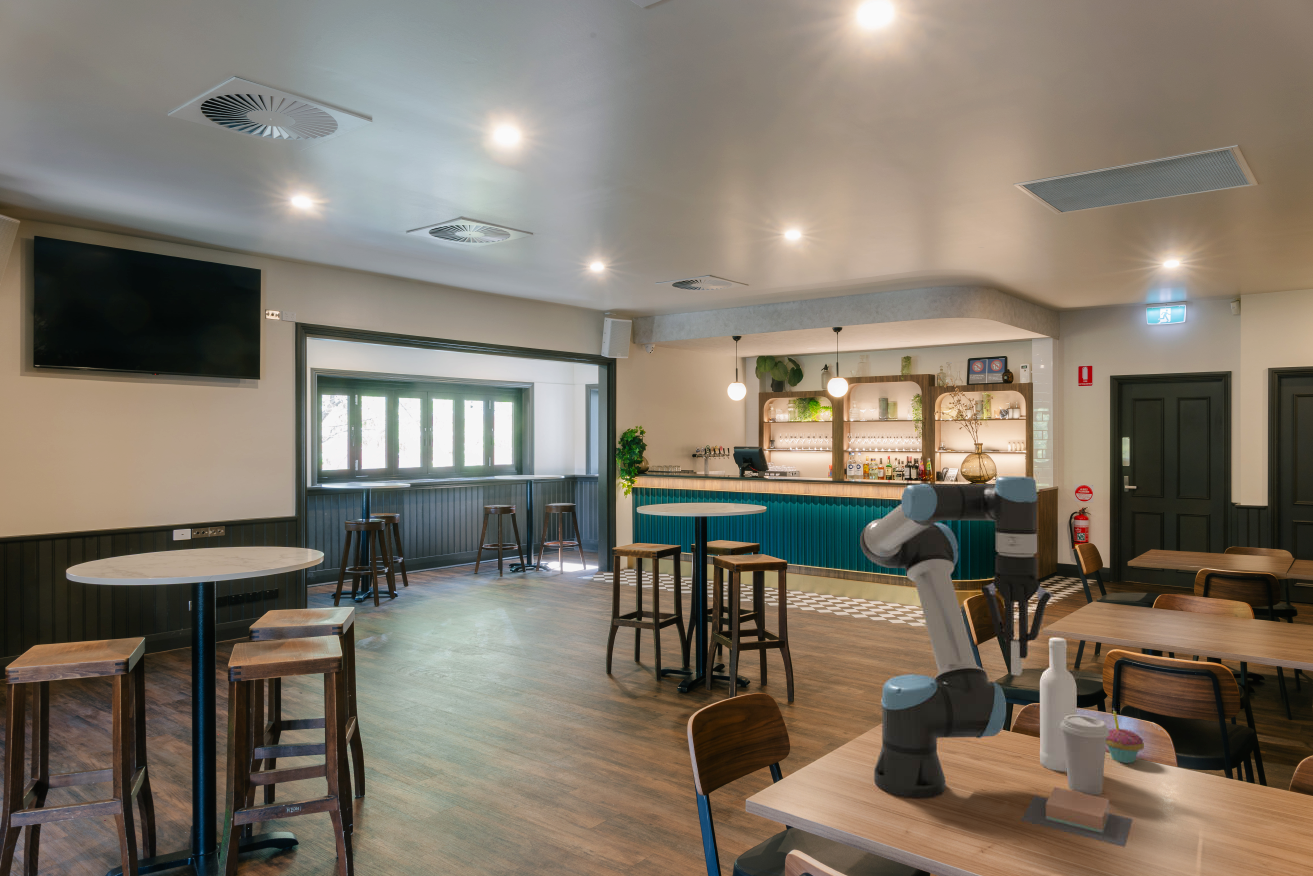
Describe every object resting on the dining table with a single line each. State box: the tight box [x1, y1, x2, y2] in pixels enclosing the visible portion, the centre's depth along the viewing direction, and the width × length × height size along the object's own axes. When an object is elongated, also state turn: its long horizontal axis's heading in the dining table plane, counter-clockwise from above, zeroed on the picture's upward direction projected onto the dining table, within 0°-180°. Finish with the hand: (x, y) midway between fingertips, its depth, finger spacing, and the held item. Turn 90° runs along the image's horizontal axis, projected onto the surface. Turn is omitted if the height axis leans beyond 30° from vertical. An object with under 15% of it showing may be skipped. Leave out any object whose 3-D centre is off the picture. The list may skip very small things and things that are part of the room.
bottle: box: [1039, 637, 1078, 773], centre depth 187 cm, size 8×8×30 cm
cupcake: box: [1106, 707, 1145, 764], centre depth 191 cm, size 9×8×12 cm
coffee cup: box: [1060, 714, 1109, 796], centre depth 174 cm, size 10×10×15 cm
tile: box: [1046, 786, 1110, 833], centre depth 159 cm, size 10×3×10 cm
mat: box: [1020, 795, 1133, 848], centre depth 158 cm, size 18×14×1 cm
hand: (1016, 673), depth 155 cm, fingers closed
